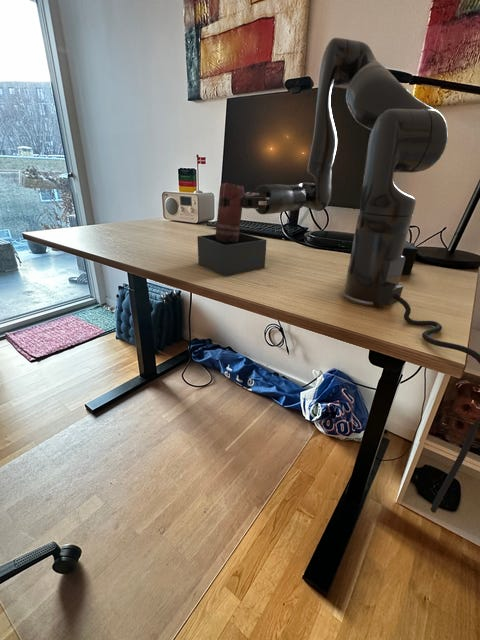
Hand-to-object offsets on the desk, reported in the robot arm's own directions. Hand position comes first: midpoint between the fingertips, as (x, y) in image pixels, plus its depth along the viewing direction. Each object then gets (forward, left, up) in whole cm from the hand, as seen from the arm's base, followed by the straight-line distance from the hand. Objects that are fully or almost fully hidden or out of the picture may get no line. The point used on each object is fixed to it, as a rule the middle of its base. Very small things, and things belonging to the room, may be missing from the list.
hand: (222, 202), depth 74 cm
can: (+1, -2, -10) cm, 10 cm away
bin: (0, -3, -17) cm, 17 cm away
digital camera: (-28, -41, -17) cm, 52 cm away
